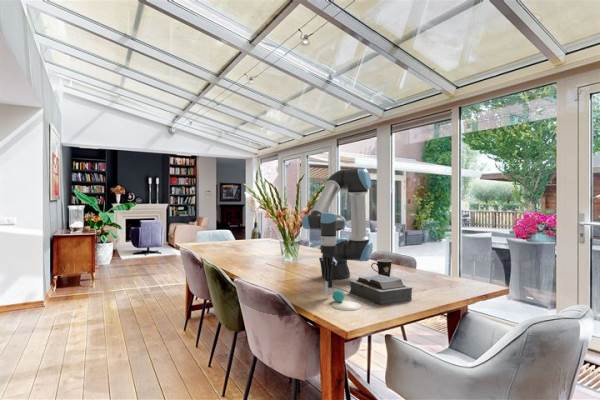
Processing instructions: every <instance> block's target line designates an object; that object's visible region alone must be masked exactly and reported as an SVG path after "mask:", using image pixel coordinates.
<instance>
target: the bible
mask: <svg viewBox="0 0 600 400" xmlns="http://www.w3.org/2000/svg"><path fill="white" fill-rule="evenodd" d="M349 283H350V284H349V286H350V290H349V293H350V294H352V295H353V294H354V295H355V296H358V297H360V298H362V299H365V300H366V301H370V302H371V303H374V304H377V305H380V306H385V305H390V304H396V303H402V302H407V301H412V294H413V292H412V291H413V287H411V286H408V285H406V284H404V283H403V281H402V279H401V278H399V277H396V276H390V277H388V276H383V275H379V274H377V275H374V276H366V277H365V276H364V277H362V276H359V277H358V278H357V279H354V280H353V279H352V280H350V281H349Z"/></svg>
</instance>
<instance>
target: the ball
mask: <svg viewBox="0 0 600 400" xmlns="http://www.w3.org/2000/svg"><path fill="white" fill-rule="evenodd" d="M345 296H346V295H345V293H344V291H343V290H340V289H335V290H334V292H332V299H333V301H334V302H342V301H345Z"/></svg>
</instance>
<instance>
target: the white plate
mask: <svg viewBox="0 0 600 400" xmlns="http://www.w3.org/2000/svg"><path fill="white" fill-rule="evenodd" d="M331 307H332V308H333V309H335V310H339V311H346V312H347V311H348V312H350V311H351V312H352V311H358V310H360V309H362V304H360V303H358V302H355V301H349V300H343V301H342V302H336V301H334V302H333V303H331Z"/></svg>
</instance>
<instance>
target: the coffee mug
mask: <svg viewBox="0 0 600 400" xmlns="http://www.w3.org/2000/svg"><path fill="white" fill-rule="evenodd" d="M373 265H376V266H377V270H376V269H375V268H374V267H373ZM371 269H372V270H373V271H374V272H376V273H377V275H383V276H388V277H391V271H392V260H391V259H385V258H384V259H383V258H382V259H377V260H376V262H373V263H372V264H371Z"/></svg>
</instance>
